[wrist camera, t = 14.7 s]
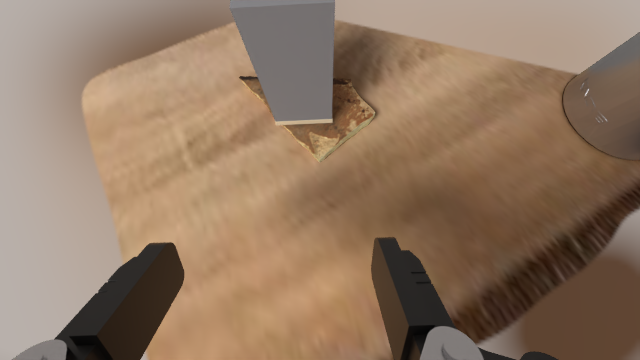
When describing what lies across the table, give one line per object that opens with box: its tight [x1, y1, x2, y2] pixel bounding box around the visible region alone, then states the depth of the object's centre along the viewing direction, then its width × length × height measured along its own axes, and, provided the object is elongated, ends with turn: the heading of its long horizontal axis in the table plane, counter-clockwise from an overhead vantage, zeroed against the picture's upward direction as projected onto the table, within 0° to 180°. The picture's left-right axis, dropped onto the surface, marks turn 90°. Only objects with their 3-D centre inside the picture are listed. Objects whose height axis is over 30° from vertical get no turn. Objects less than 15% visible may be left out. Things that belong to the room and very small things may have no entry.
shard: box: [239, 76, 375, 162], centre depth 22 cm, size 11×8×2 cm
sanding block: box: [230, 0, 335, 125], centre depth 16 cm, size 5×5×10 cm
